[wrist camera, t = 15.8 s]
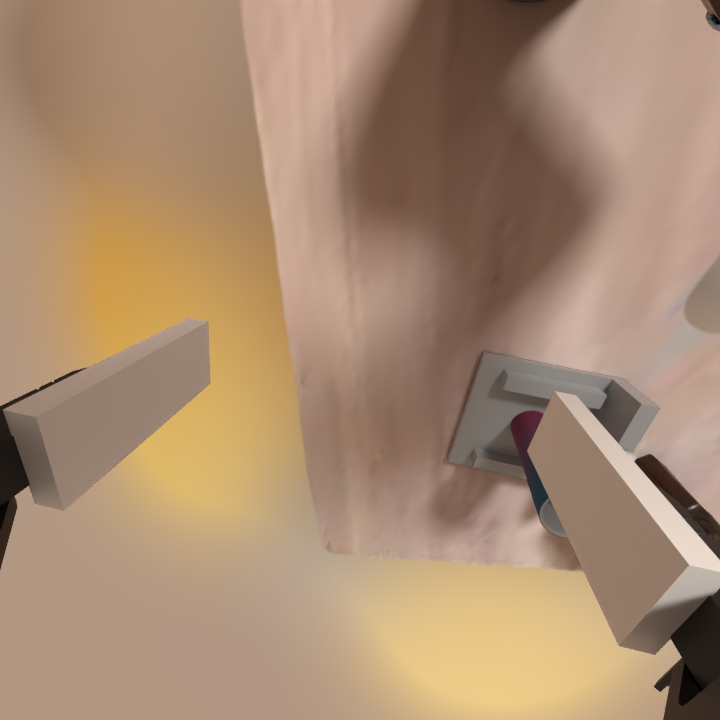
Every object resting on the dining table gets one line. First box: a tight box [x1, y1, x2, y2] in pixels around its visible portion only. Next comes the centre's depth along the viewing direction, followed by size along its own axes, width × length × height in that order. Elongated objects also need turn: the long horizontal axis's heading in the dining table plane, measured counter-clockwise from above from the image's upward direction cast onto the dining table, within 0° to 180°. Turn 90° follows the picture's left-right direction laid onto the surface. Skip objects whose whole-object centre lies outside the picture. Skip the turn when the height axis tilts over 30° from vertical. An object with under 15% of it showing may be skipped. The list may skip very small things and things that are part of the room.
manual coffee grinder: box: [634, 454, 720, 547], centre depth 41 cm, size 16×11×18 cm
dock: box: [447, 351, 660, 480], centre depth 44 cm, size 18×18×9 cm
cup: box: [511, 410, 568, 538], centre depth 40 cm, size 7×7×15 cm
